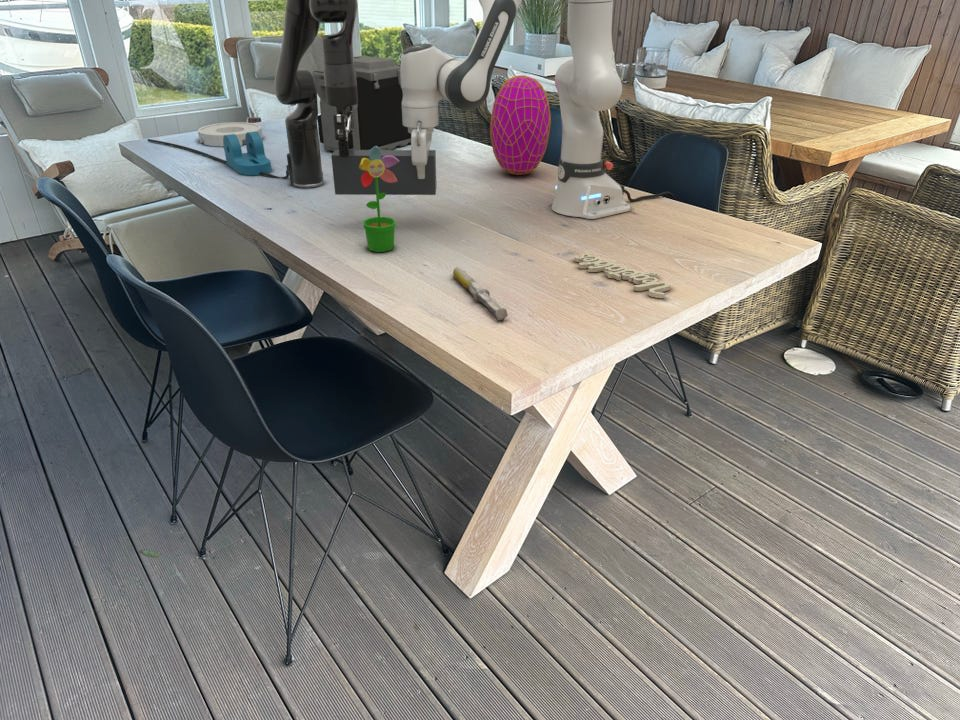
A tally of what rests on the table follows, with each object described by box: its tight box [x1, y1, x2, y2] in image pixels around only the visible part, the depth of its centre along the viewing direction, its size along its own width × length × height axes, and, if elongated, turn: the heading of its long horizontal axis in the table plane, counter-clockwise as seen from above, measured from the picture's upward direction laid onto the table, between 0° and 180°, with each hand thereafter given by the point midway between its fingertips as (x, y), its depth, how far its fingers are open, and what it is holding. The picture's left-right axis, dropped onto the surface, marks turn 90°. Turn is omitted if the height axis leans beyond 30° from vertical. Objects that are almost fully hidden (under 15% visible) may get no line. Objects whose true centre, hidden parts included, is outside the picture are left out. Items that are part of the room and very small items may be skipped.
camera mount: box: [223, 131, 272, 176], centre depth 226 cm, size 18×10×10 cm, turn 35°
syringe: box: [452, 266, 509, 321], centre depth 145 cm, size 25×4×3 cm, turn 21°
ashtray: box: [197, 121, 264, 147], centre depth 263 cm, size 23×23×4 cm
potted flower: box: [359, 146, 399, 253], centre depth 162 cm, size 9×8×25 cm
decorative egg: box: [489, 75, 552, 176], centre depth 220 cm, size 19×19×30 cm
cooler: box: [310, 55, 411, 152], centre depth 250 cm, size 37×22×30 cm, turn 144°
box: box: [330, 149, 437, 196], centre depth 174 cm, size 25×6×10 cm, turn 91°
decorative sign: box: [574, 252, 671, 299], centre depth 155 cm, size 26×1×10 cm
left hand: (347, 152), depth 171 cm, fingers open, 8 cm apart
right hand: (422, 174), depth 174 cm, fingers closed on box, 6 cm apart
